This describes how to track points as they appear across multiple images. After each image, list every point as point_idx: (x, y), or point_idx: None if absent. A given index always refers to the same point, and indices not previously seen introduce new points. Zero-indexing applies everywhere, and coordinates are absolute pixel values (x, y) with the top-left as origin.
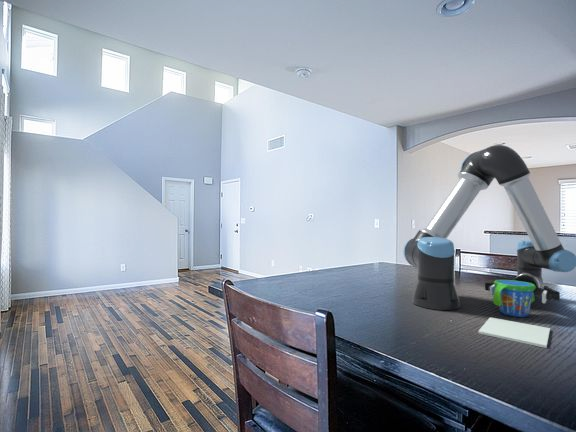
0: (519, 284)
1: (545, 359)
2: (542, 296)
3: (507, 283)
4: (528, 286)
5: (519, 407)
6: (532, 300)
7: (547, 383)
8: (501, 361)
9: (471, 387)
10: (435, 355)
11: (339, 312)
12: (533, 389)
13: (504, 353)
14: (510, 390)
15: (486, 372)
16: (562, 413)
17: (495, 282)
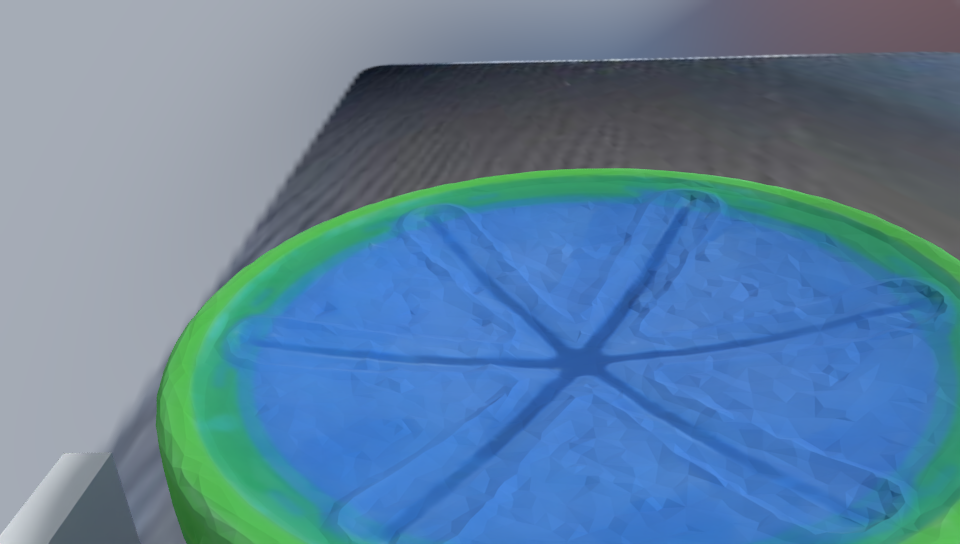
0: (482, 429)
1: (364, 172)
2: (116, 487)
3: (740, 382)
4: (325, 223)
5: (437, 64)
6: None
7: (379, 110)
8: (493, 124)
9: (526, 63)
10: (662, 87)
11: None
12: (411, 92)
13: (494, 151)
14: (455, 78)
15: (515, 91)
16: (368, 76)
17: (883, 232)
